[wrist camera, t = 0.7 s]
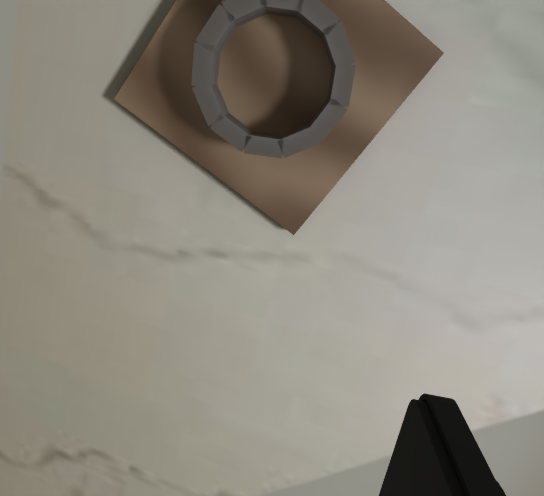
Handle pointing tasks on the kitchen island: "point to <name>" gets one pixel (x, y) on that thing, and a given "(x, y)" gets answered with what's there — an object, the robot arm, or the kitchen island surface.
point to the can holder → (277, 91)
